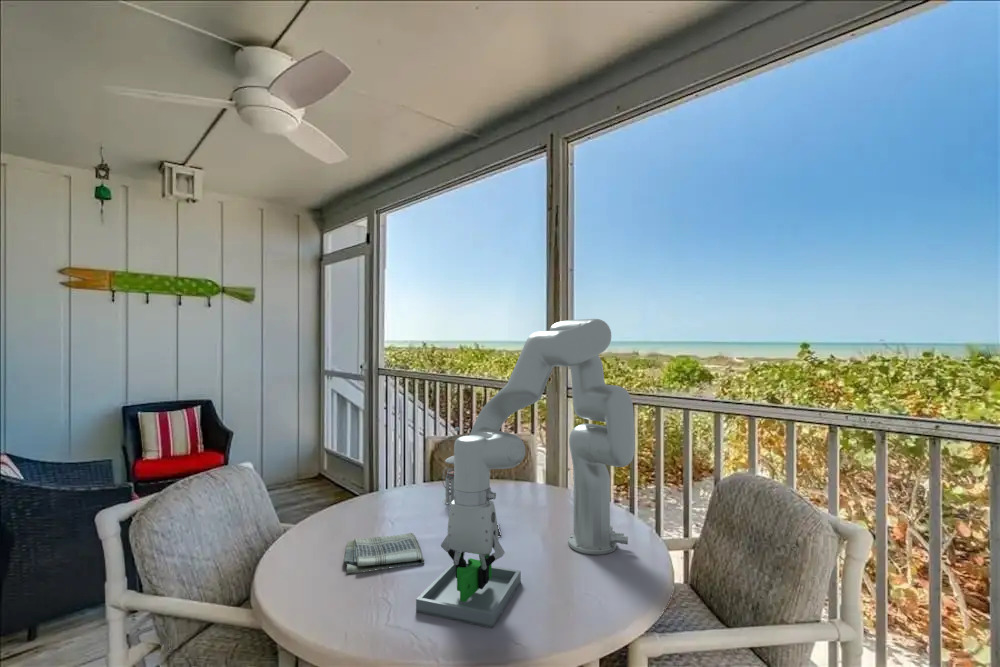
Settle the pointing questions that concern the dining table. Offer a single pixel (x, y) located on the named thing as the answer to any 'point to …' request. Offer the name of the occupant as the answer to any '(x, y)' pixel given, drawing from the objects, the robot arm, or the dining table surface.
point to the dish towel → (382, 553)
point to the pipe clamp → (469, 579)
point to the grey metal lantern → (450, 475)
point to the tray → (479, 606)
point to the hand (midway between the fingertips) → (472, 583)
